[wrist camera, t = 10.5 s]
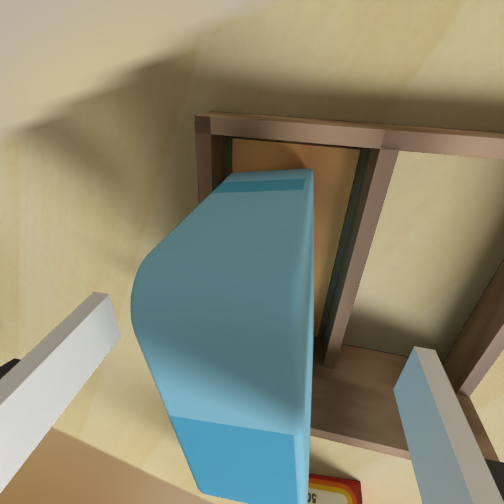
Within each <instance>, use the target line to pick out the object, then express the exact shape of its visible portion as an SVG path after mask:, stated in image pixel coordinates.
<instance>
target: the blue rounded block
mask: <svg viewBox="0 0 504 504" xmlns="http://www.w3.org/2000/svg"><path fill="white" fill-rule="evenodd" d="M131 320H132V325H133V329H134V332H135V335H136V338H137V340H138V343H139V345H140V347H141V350H142V352H143V355H144V357H145V360H146V362H147V365H148V367H149V369H150V372H151V374H152V377H153V379H154V382H155V384H156V387H157V389H158V391H159V394H160V396H161V399H162V401H163V404H164V406H165V409H166V411H167V413H168V416H169V418H170V421H171V423H172V426H173V428H174V431H175V433H176V435H177V438H178V440H179V443H180V445H181V448H182V450H183V452H184V455H185V457H186V460H187V462H188V465H189V467H190V470H191V472H192V474H193V477H194V479H195V482H196V484H197V487H198V489H199V490H200V492H202V493H203V494H207V495H212V496H216V497H221V498H226V499H230V500H235V501H239V502H244V503H248V504H307V501H308V480H309V451H310V423H311V394H312V366H313V337H314V180H313V171H312V170H311V169H309V168H306V169H288V170H270V171H253V172H235V173H232V174H231V175H229V176H228V177H227V178H226V179H225V180H224V181H223V182H222V183H221V184H220V185H219V186H218V187H217V188H216V189H215V190H214V191H213V192H212V193H211V194H210V195H209V196H208V197H207V198H206V199H205V200H204V201H203V202H202V203H201V204H200V205H198V206H197V207H196V208H195V209H194V210H193V211H192V212H191V213H190V214H189V215H188V216H187V217H186V218H185V219H184V220H183V221H182V222H181V223H180V224H179V225H178V226H177V227H176V228H175V229H174V230H173V231H172V232H171V233H170V234H169V235H168V236H166V237H165V238H164V239H163V240H162V241H161V242H160V243H159V244H158V245H157V246H156V247H155V248H154V249H153V250H152V251H151V252H150V253H149V254H148V255H147V256H146V258H145V259H144V260H143V262H142V264H141V266H140V267H139V269H138V272H137V274H136V277H135V280H134V284H133V288H132V294H131Z"/></svg>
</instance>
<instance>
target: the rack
mask: <svg viewBox="0 0 504 504" xmlns="http://www.w3.org/2000/svg"><path fill="white" fill-rule="evenodd" d="M195 134H196V154H197V174H198V194H199V205H200V204H201V203H202V202H203V201H204V200H205V199H206V198H207V197H208V196H209V195H210V194H211V193H212V192H213V191H214V190H215V189H216V188H217V187H218V186H219V185H220V184H221V183H222V182H223V181H224V180H225V136H237V137H248V138H260V139H272V140H283V141H295V142H306V143H318V144H330V145H341V146H353V147H364V148H370V151H369V155H368V159H367V163H366V167H365V171H364V175H363V179H362V183H361V187H360V191H359V195H358V199H357V204H356V208H355V212H354V216H353V220H352V224H351V228H350V232H349V236H348V240H347V244H346V248H345V252H344V256H343V260H342V264H341V268H340V272H339V277H338V281H337V285H336V289H335V293H334V297H333V301H332V305H331V309H330V313H329V317H328V321H327V325H326V329H325V333H324V337H323V341H322V340H317V339H313V366H312V394H311V423H310V436H314V437H319V438H323V439H327V440H331V441H335V442H339V443H343V444H347V445H351V446H356V447H360V448H364V449H368V450H372V451H376V452H380V453H384V454H389V455H393V456H397V457H401V458H405V459H409V460H411V457H410V453H409V449H408V445H407V441H406V437H405V433H404V429H403V425H402V421H401V417H400V414H399V410H398V406H397V402H396V398H395V394H394V390H393V389H394V387H395V385H396V383H397V381H398V379H399V377H400V375H401V373H402V371H403V368H404V366H405V364H406V362H407V360H408V358H409V357H406V356H400V355H395V354H390V353H385V352H380V351H374V350H369V349H364V348H359V347H353V346H348V345H343V344H342V341H343V338H344V334H345V331H346V327H347V324H348V321H349V317H350V314H351V311H352V307H353V304H354V301H355V297H356V294H357V290H358V287H359V284H360V280H361V277H362V274H363V270H364V267H365V263H366V260H367V257H368V253H369V250H370V247H371V243H372V240H373V237H374V233H375V230H376V226H377V223H378V220H379V216H380V213H381V210H382V206H383V203H384V200H385V196H386V193H387V189H388V186H389V183H390V179H391V176H392V173H393V169H394V166H395V162H396V159H397V156H398V152H399V151H411V152H422V153H434V154H445V155H457V156H468V157H480V158H492V159H503V160H504V133H501V132H487V131H473V130H460V129H446V128H433V127H419V126H405V125H392V124H378V123H364V122H351V121H337V120H324V119H310V118H296V117H283V116H269V115H255V114H242V113H228V112H214V111H211V112H206V113H202V114H198V115H195ZM359 154H360V149H354V148H343V147H331V146H320V145H308V144H297V143H285V142H274V141H262V140H251V139H239V138H233V159H232V173H235V172H253V171H270V170H288V169H306V168H309V169H311V170H312V171H313V180H314V336H316V337H317V336H318V332H319V327H320V323H321V319H322V314H323V310H324V306H325V301H326V297H327V293H328V288H329V284H330V280H331V275H332V271H333V267H334V262H335V258H336V254H337V249H338V245H339V241H340V236H341V232H342V227H343V223H344V219H345V214H346V210H347V206H348V201H349V197H350V193H351V188H352V184H353V180H354V175H355V171H356V167H357V162H358V158H359ZM503 349H504V260H503V262H502V263H501V265H500V267H499V269H498V270H497V272H496V274H495V275H494V277H493V279H492V281H491V282H490V284H489V286H488V287H487V289H486V291H485V292H484V294H483V296H482V298H481V299H480V301H479V303H478V304H477V306H476V308H475V310H474V311H473V313H472V315H471V316H470V318H469V320H468V322H467V323H466V325H465V327H464V328H463V330H462V332H461V334H460V335H459V337H458V339H457V340H456V342H455V344H454V345H453V347H452V349H451V351H450V352H449V354H448V356H447V357H446V359H445V361H444V363H443V364H442V363H441V364H442V366H443V368H444V371H445V373H446V375H447V377H448V380H449V382H450V384H451V386H452V388H453V391H454V393H455V395H456V397H457V399H458V402H459V404H460V406H461V408H462V411H463V413H464V415H465V417H466V419H467V422H468V424H469V426H470V428H471V430H472V433H473V435H474V437H475V439H476V442H477V444H478V446H479V448H480V450H481V453H482V455H483V457H484V459H489V460H494V461H498V462H500V461H499V459H498V457H497V455H496V453H495V451H494V448H493V446H492V444H491V442H490V440H489V438H488V436H487V434H486V431H485V429H484V427H483V425H482V423H481V421H480V419H479V417H478V414H477V412H476V410H475V408H474V406H473V404H472V402H471V400H470V395H471V394H472V392H473V391H474V390H475V388H476V387H477V385H478V384H479V383H480V381H481V380H482V378H483V377H484V376H485V374H486V373H487V372H488V370H489V369H490V367H491V366H492V365H493V363H494V362H495V360H496V359H497V358H498V356H499V355H500V353H501V352H502V351H503Z"/></svg>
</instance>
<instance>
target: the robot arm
mask: <svg viewBox="0 0 504 504" xmlns="http://www.w3.org/2000/svg"><path fill="white" fill-rule="evenodd" d="M119 338H120V333H119V329H118V326H117V322H116V318H115V314H114V310H113V307H112V303H111V299H110V295H109V294H104V293H99V292H93V293H92V294H91V295H90V296H89V297H88V298H87V299H86V300H85V301H84V302H83V303H81V304H80V305H79V306H78V307H77V308H76V309H75V310H74V311H73V312H72V313H71V314H70V315H69V316H68V317H67V318H65V319H64V320H63V321H62V322H61V323H60V324H59V325H58V326H57V327H56V328H55V329H54V330H53V331H52V332H51V333H49V334H48V335H47V336H46V337H45V338H44V339H43V340H42V341H41V342H40V343H39V344H38V345H37V346H36V347H35V348H33V349H32V350H31V351H30V352H29V353H28V354H27V355H26V356H25V357H24V358H23V359H22V360H19V359H15V358H14V359H13V360H11V361H9V362H8V363H6V364H4V365H3V366H1V367H0V493H1V492H2V490H3V489H4V487H5V486H6V485H7V484H8V483H9V481H10V480H11V479H12V477H13V476H14V475H15V473H16V472H17V471H18V470H19V468H20V467H21V466H22V464H23V463H24V462H25V460H26V459H27V457H29V455H30V454H31V453H32V451H33V450H34V449H35V448H36V446H37V445H38V444H39V442H40V441H41V440H42V438H43V437H44V436H45V435H46V433H47V432H48V431H49V429H50V428H51V427H52V425H53V424H54V423H55V422H56V420H57V419H58V418H59V416H60V415H61V414H62V412H63V411H64V410H65V409H66V407H67V406H68V405H69V403H70V402H71V401H72V399H73V398H74V397H75V396H76V394H77V393H78V392H79V390H80V389H81V388H82V386H83V385H84V384H85V383H86V381H87V380H88V379H89V377H90V376H91V375H92V374H93V372H94V371H95V370H96V368H97V367H98V366H99V364H100V363H101V362H102V361H103V359H104V358H105V357H106V355H107V354H108V353H109V351H110V350H111V349H112V348H113V346H114V345H115V344H116V342H117V341H118V340H119ZM393 390H394V394H395V398H396V402H397V406H398V410H399V414H400V417H401V421H402V425H403V429H404V433H405V437H406V441H407V445H408V449H409V453H410V457H411V460H412V464H413V468H414V472H415V476H416V480H417V484H418V488H419V492H420V496H421V499H422V503H423V504H504V463H503V462H498V461H494V460H489V459H484V457H483V455H482V453H481V450H480V448H479V446H478V444H477V442H476V439H475V437H474V435H473V433H472V430H471V428H470V426H469V424H468V422H467V419H466V417H465V415H464V413H463V411H462V408H461V406H460V404H459V402H458V399H457V397H456V395H455V393H454V391H453V388H452V386H451V384H450V382H449V380H448V377H447V375H446V373H445V371H444V368H443V366H442V364H441V362H440V360H439V357H438V355H437V353H436V351H435V350H433V349H427V348H421V347H415V346H414V348H413V350H412V352H411V354H410V356H409V358H408V360H407V362H406V364H405V366H404V368H403V371H402V373H401V375H400V377H399V379H398V381H397V383H396V385H395V387H394V389H393Z"/></svg>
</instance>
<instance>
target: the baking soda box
mask: <svg viewBox="0 0 504 504" xmlns="http://www.w3.org/2000/svg"><path fill="white" fill-rule="evenodd" d="M307 504H362V494H361V483H360V481H355V480H348V479H341V478H334V477H328V476H321V475H314V474H309V480H308V501H307Z"/></svg>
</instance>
